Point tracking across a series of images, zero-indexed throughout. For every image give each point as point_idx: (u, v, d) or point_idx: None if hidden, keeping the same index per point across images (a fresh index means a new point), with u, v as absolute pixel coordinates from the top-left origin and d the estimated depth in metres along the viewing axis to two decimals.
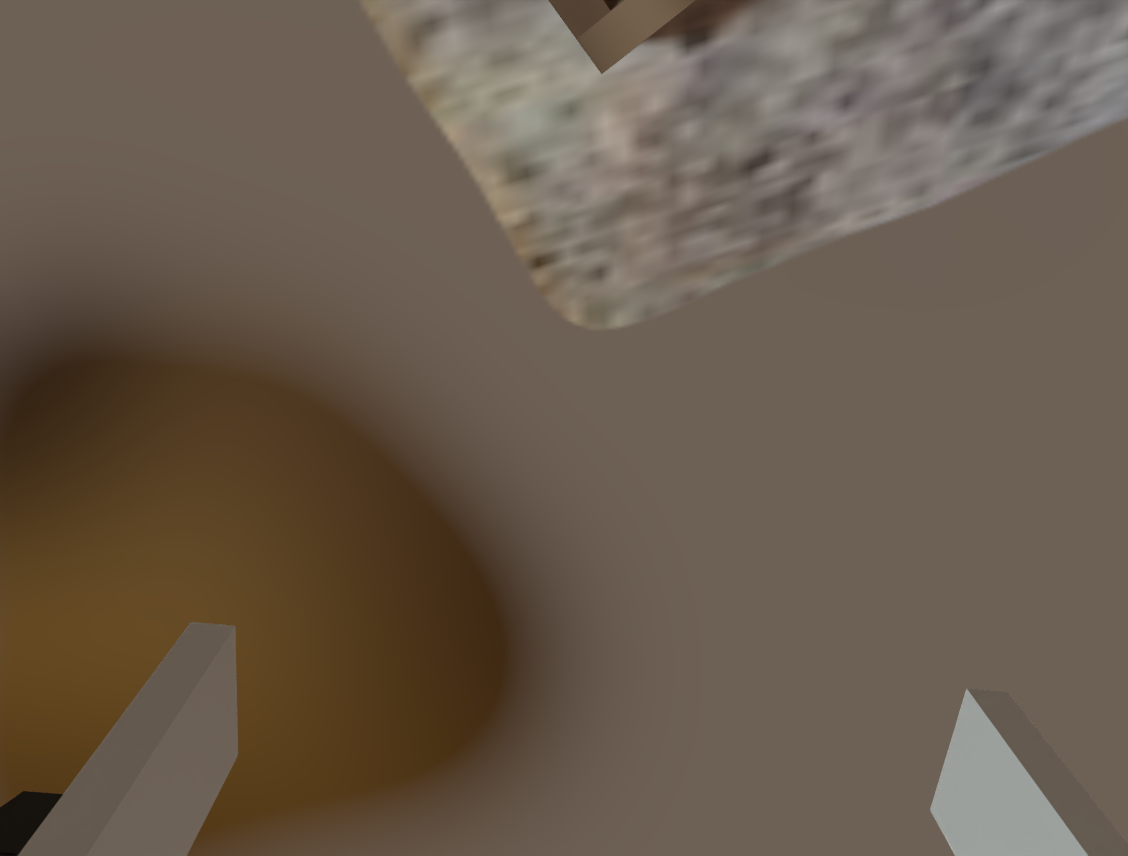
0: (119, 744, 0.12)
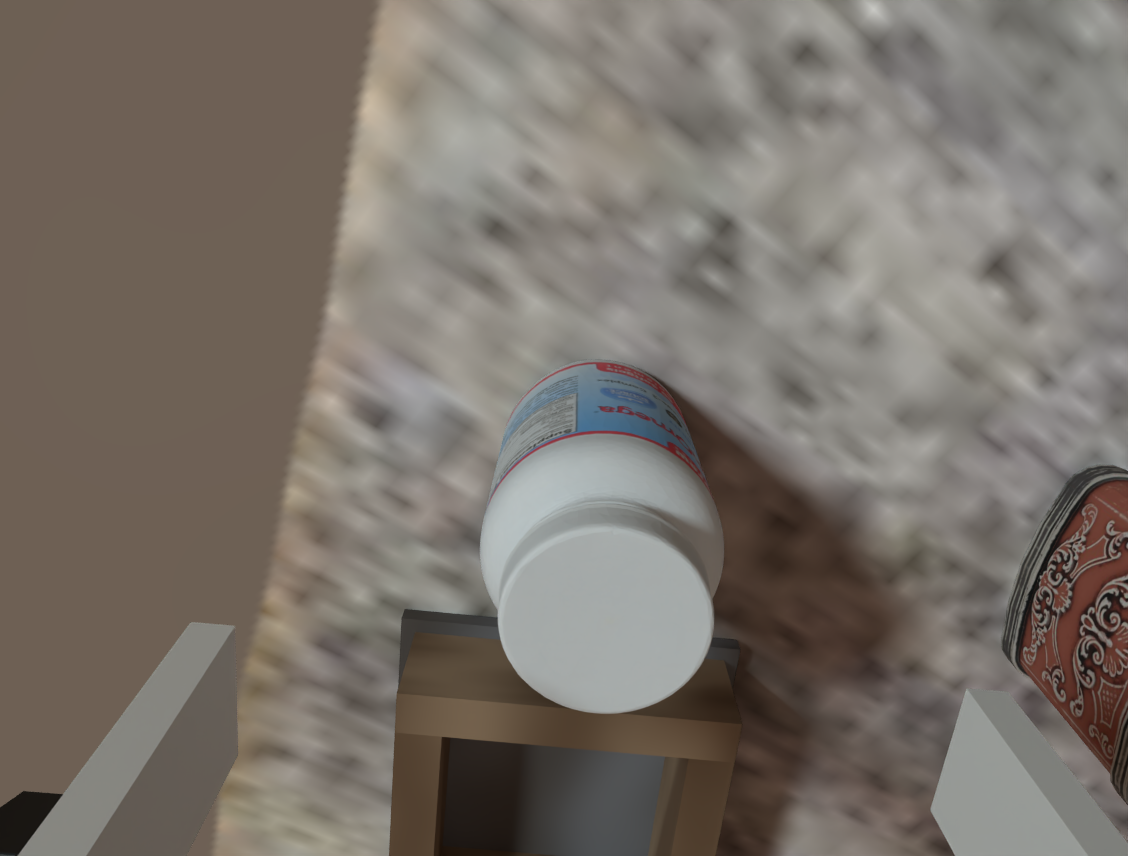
0: (119, 744, 0.12)
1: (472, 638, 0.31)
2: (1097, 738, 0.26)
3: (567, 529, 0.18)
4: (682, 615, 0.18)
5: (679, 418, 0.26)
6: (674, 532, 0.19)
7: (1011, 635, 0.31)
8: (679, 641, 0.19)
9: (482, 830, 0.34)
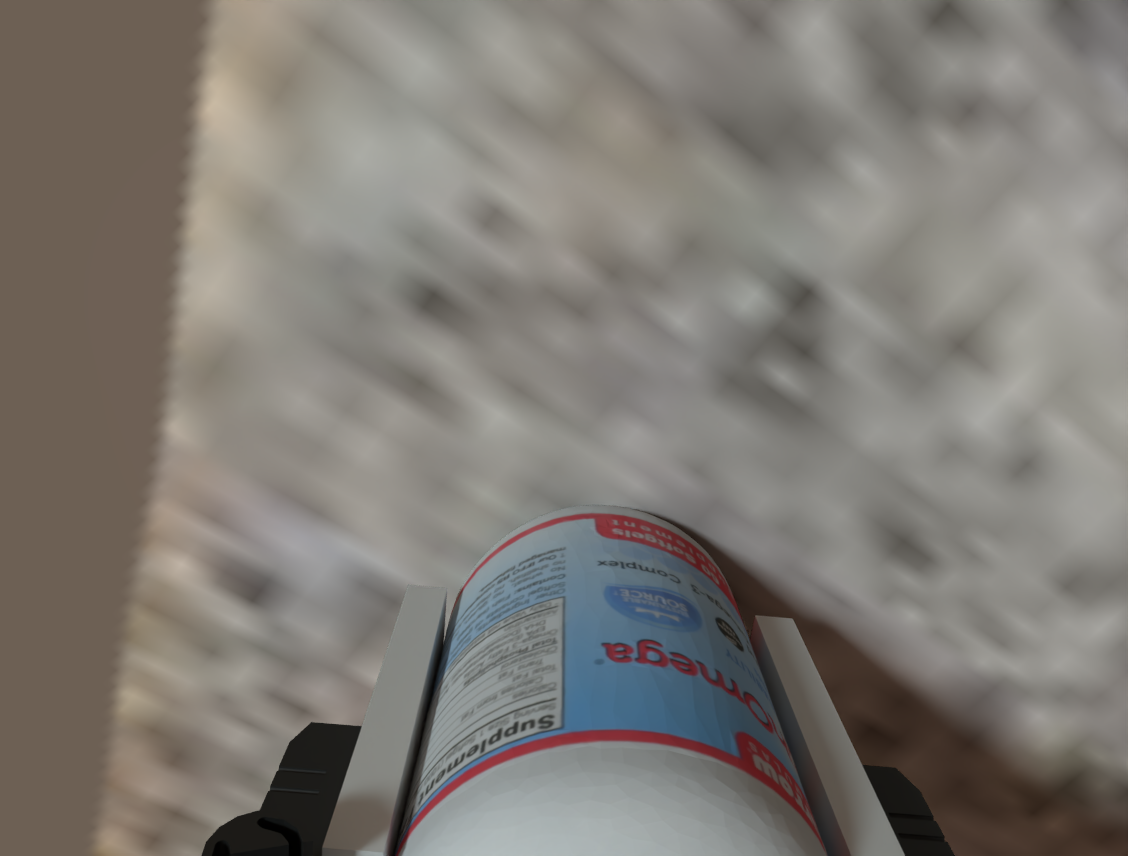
0: (392, 682, 0.14)
1: None
2: None
3: None
4: None
5: (734, 621, 0.15)
6: None
7: None
8: None
9: None
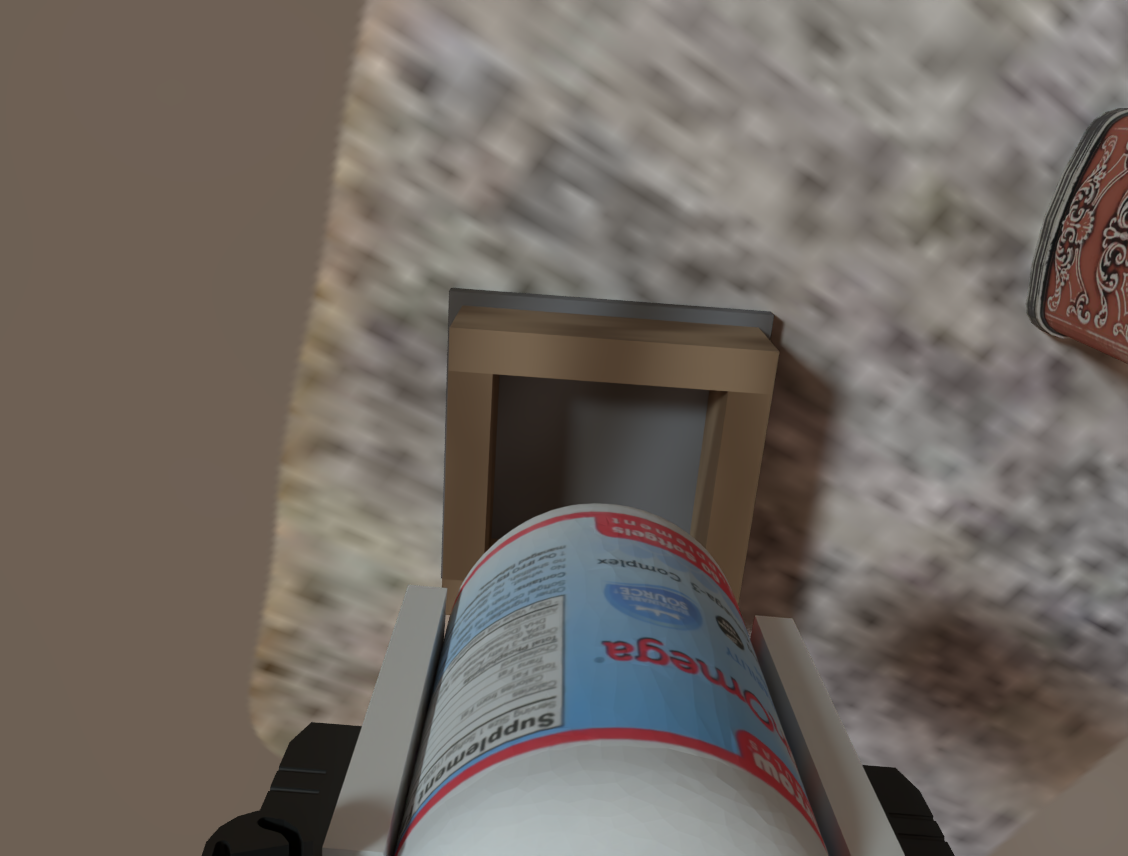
0: (392, 682, 0.14)
1: (516, 309, 0.32)
2: (1121, 333, 0.27)
3: None
4: None
5: (735, 620, 0.15)
6: None
7: (1036, 292, 0.32)
8: None
9: None
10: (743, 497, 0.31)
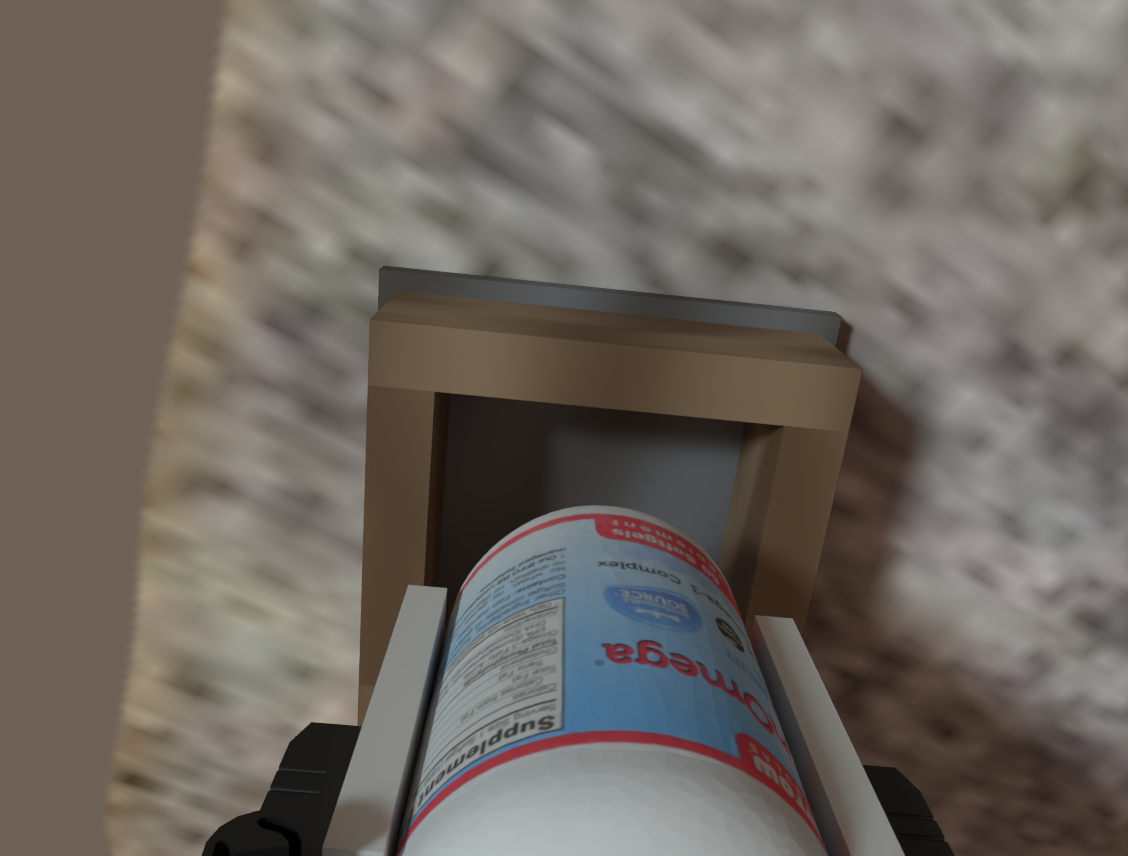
0: (392, 682, 0.14)
1: (476, 299, 0.22)
2: None
3: None
4: None
5: (735, 622, 0.15)
6: None
7: None
8: None
9: None
10: (798, 579, 0.21)
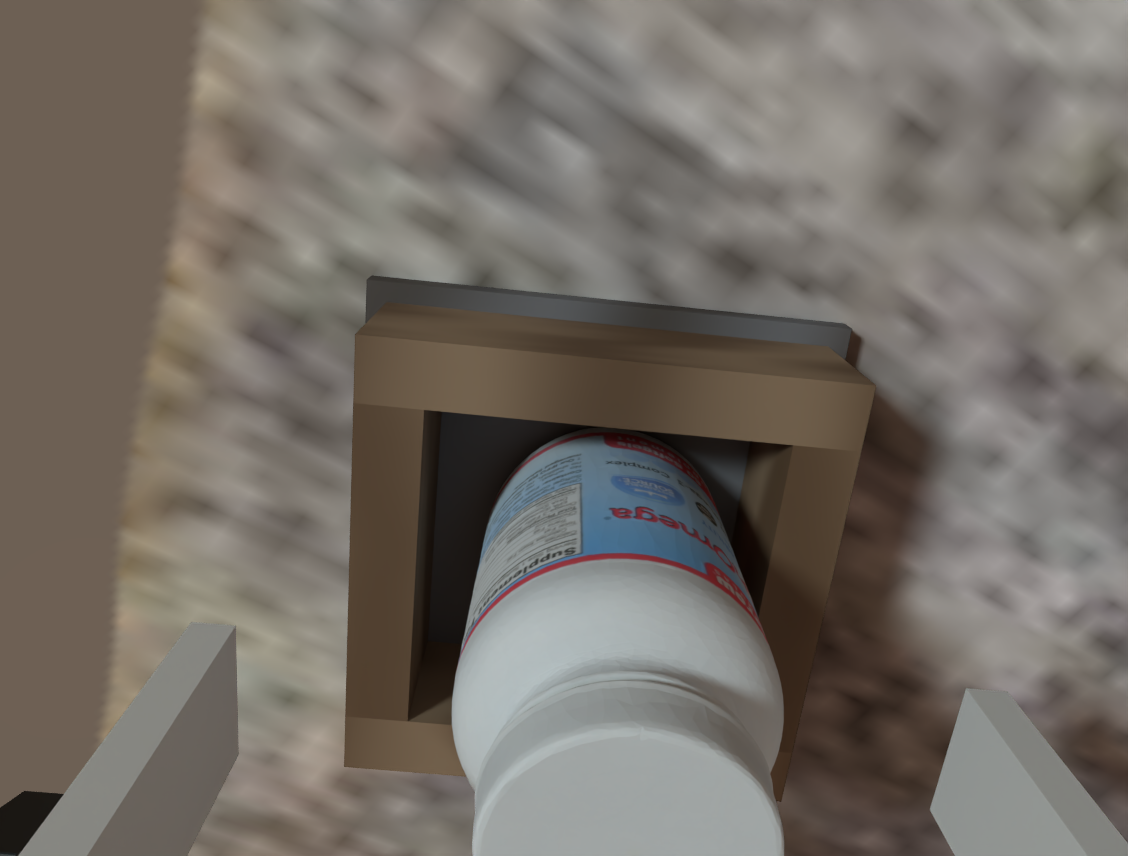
0: (119, 744, 0.12)
1: (468, 310, 0.21)
2: None
3: (572, 730, 0.12)
4: (738, 846, 0.13)
5: (711, 509, 0.20)
6: (725, 722, 0.13)
7: None
8: None
9: None
10: (807, 605, 0.20)
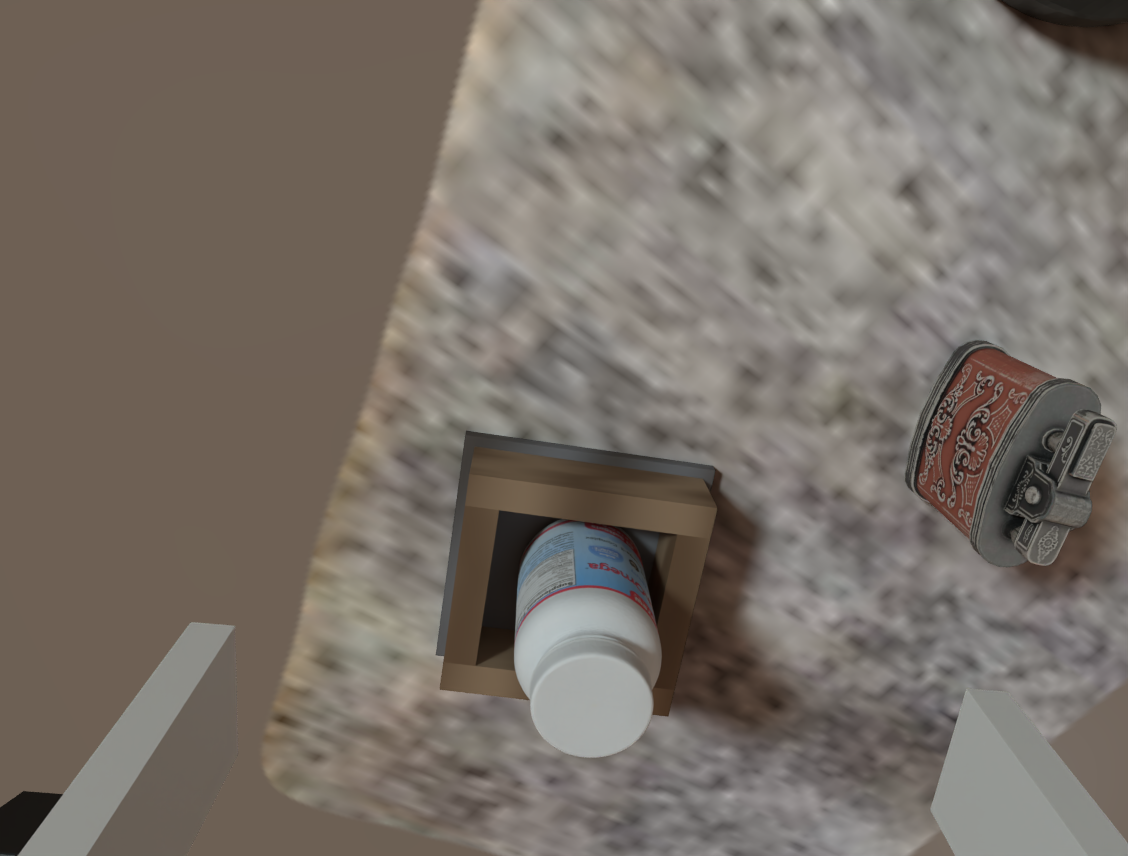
0: (119, 744, 0.12)
1: (517, 452, 0.41)
2: (963, 516, 0.37)
3: (573, 655, 0.32)
4: (635, 703, 0.32)
5: (637, 562, 0.40)
6: (632, 655, 0.33)
7: (911, 467, 0.42)
8: (633, 718, 0.33)
9: (511, 613, 0.44)
10: (683, 613, 0.40)
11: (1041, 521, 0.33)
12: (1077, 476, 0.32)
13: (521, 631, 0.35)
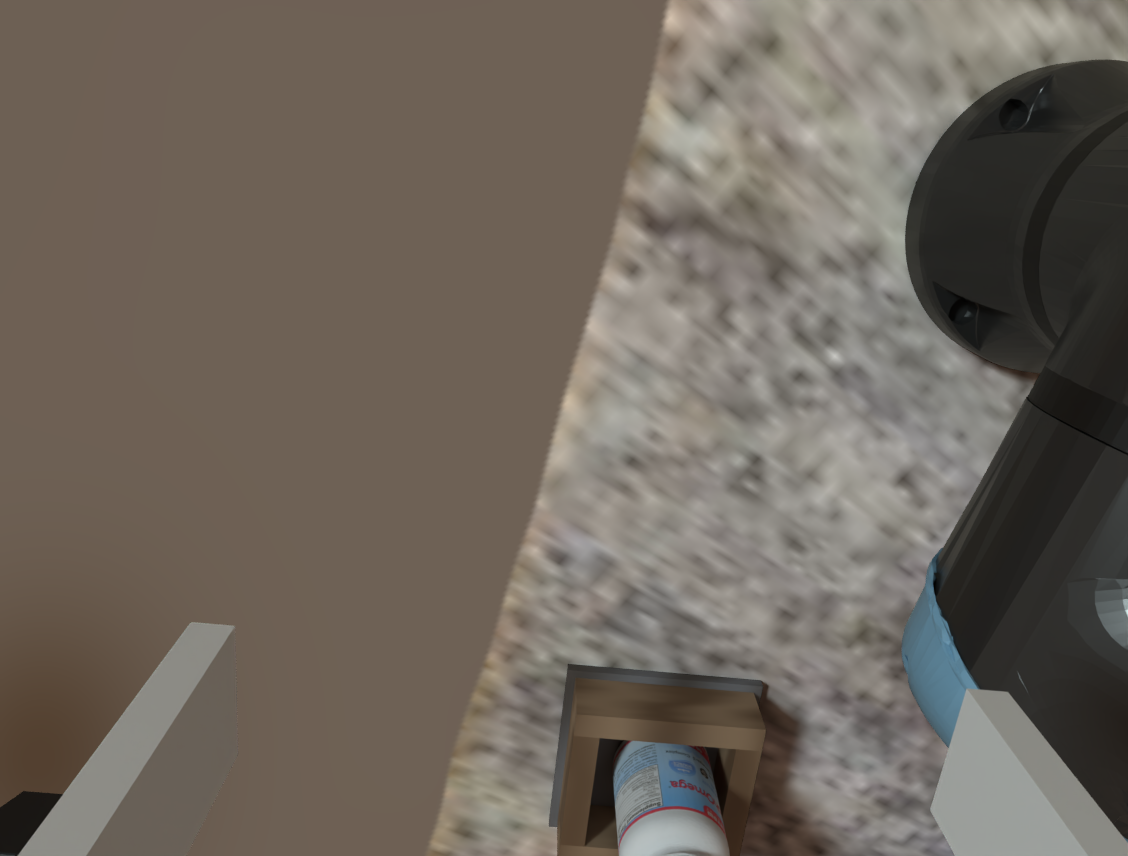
0: (119, 744, 0.12)
1: (608, 681, 0.53)
2: None
3: None
4: None
5: (706, 767, 0.52)
6: None
7: None
8: None
9: (607, 794, 0.56)
10: (743, 803, 0.52)
11: None
12: None
13: (624, 842, 0.47)
